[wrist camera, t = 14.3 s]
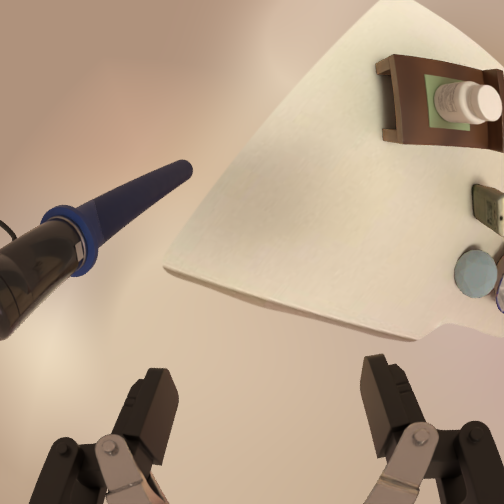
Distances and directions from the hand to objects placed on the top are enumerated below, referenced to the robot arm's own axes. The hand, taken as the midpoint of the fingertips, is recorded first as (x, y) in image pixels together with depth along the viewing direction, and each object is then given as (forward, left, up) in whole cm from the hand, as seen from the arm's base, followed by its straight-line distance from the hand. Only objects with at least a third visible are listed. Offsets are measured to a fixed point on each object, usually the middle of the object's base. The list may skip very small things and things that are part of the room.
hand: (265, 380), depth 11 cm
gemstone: (+31, -12, -28) cm, 43 cm away
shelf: (+22, +12, -28) cm, 37 cm away
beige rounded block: (+31, -1, -28) cm, 42 cm away
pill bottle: (+21, +12, -22) cm, 33 cm away
